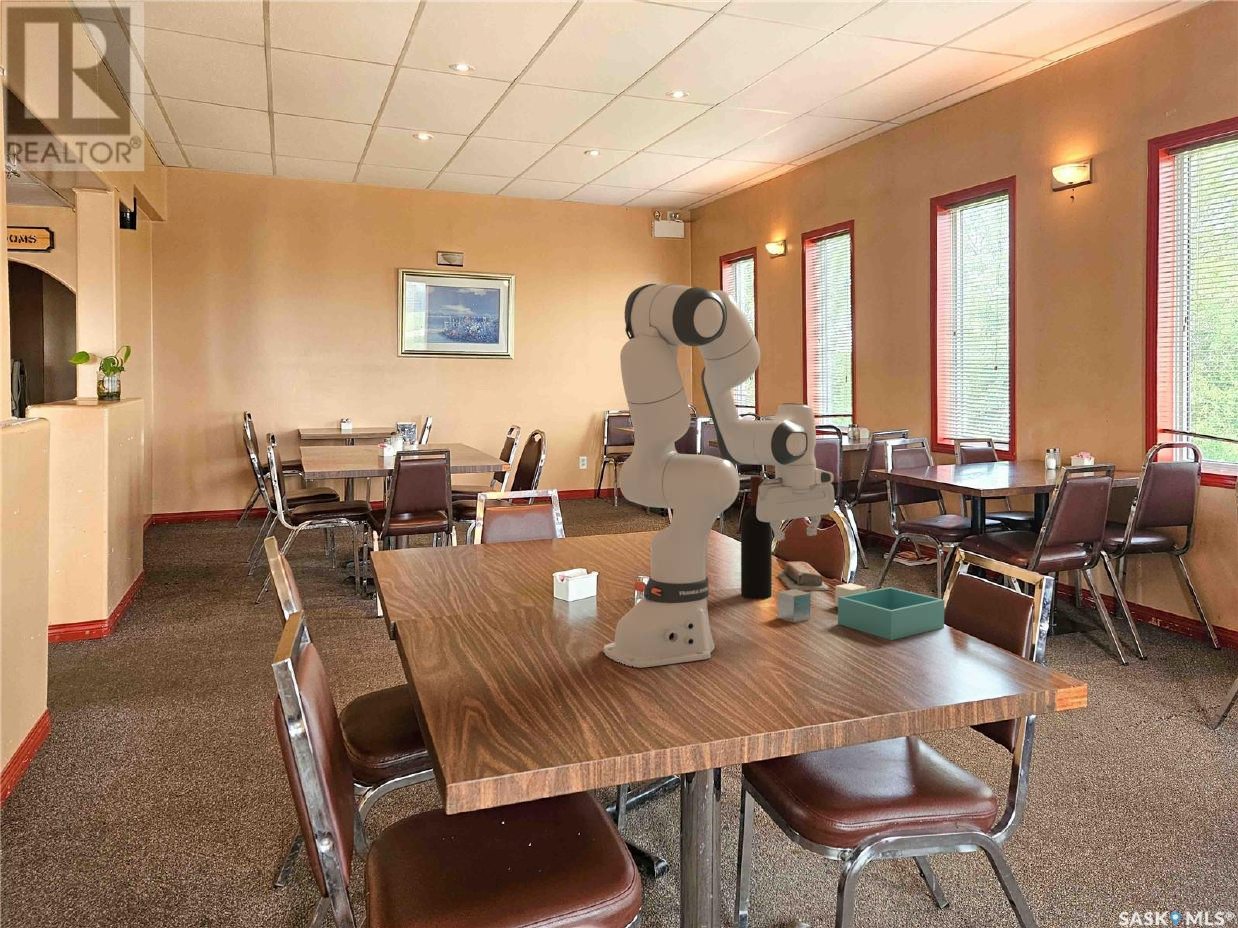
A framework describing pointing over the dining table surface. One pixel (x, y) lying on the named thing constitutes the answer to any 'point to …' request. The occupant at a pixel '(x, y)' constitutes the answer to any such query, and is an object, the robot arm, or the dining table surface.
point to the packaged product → (802, 577)
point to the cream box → (848, 590)
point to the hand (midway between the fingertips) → (795, 537)
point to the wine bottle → (755, 551)
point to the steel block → (794, 605)
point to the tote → (891, 612)
